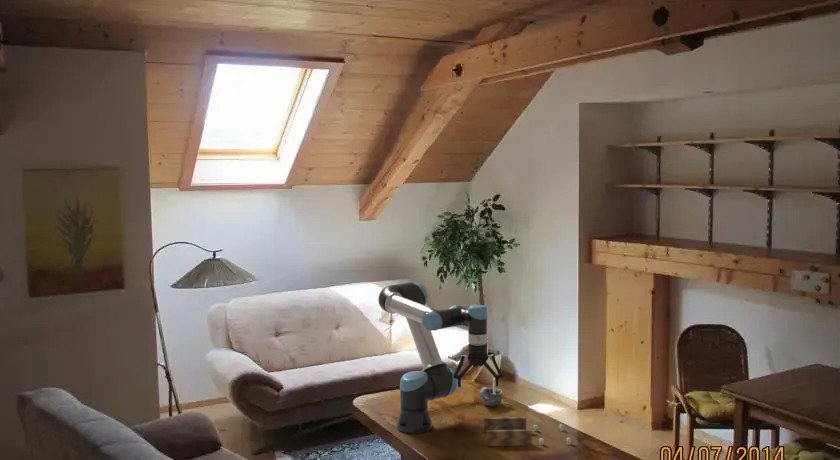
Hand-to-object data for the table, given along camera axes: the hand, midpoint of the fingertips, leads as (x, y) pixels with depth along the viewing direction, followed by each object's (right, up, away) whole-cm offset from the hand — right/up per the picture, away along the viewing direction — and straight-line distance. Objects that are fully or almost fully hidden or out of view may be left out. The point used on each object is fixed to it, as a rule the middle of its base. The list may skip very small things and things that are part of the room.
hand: (477, 394), depth 307 cm
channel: (+12, -18, +2) cm, 22 cm away
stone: (+11, -19, +2) cm, 22 cm away
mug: (+9, -15, +41) cm, 44 cm away
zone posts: (+31, -18, +2) cm, 36 cm away
